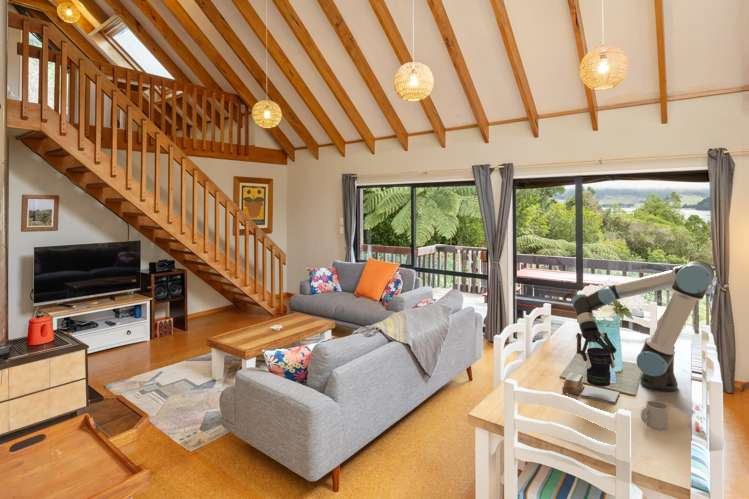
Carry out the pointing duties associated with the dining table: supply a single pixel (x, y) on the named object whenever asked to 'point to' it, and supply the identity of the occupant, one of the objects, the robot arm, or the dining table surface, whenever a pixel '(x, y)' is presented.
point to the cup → (655, 415)
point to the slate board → (600, 394)
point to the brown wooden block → (573, 384)
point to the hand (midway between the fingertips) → (601, 367)
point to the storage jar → (599, 367)
